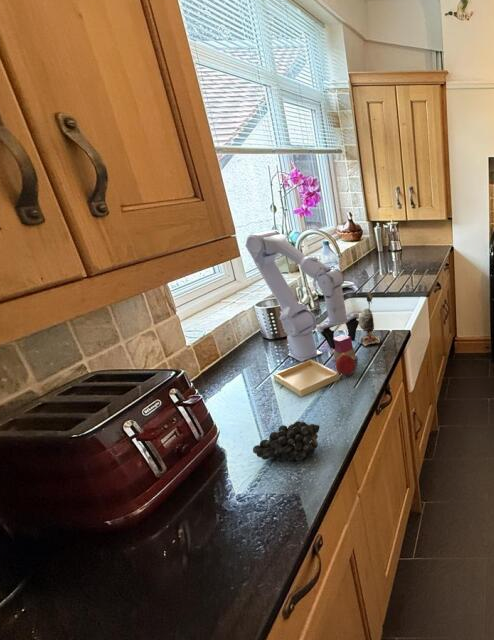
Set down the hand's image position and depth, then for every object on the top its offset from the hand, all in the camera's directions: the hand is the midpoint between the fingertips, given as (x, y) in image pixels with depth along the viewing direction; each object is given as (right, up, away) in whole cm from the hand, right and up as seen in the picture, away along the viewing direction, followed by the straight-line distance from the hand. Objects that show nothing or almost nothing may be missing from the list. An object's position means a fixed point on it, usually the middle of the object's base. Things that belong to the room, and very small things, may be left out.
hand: (342, 344), depth 137 cm
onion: (+5, -10, -8) cm, 13 cm away
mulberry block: (0, -2, +1) cm, 2 cm away
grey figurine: (+4, 0, +17) cm, 17 cm away
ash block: (0, -6, +2) cm, 6 cm away
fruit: (+4, -24, -43) cm, 49 cm away
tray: (-7, -11, -10) cm, 16 cm away
